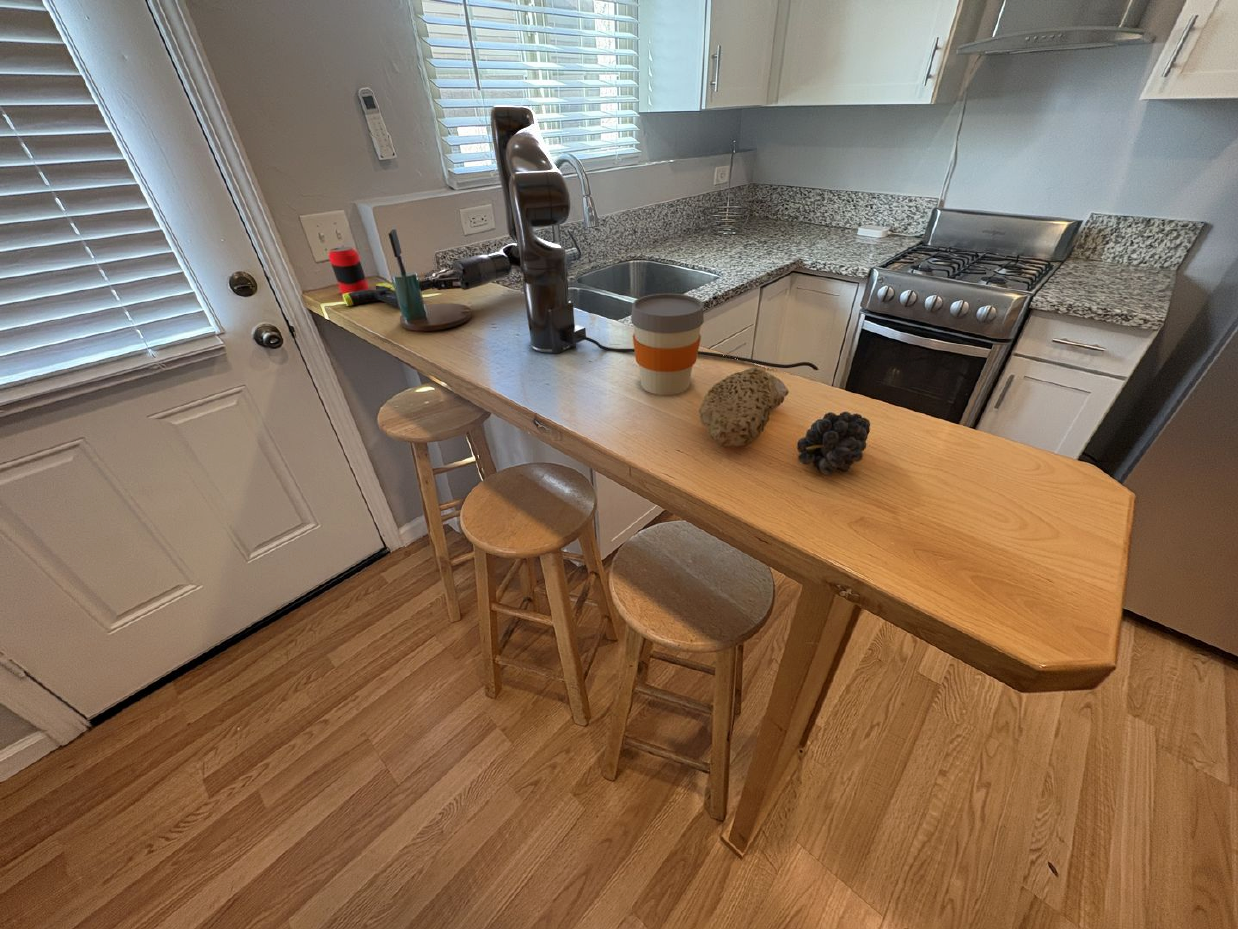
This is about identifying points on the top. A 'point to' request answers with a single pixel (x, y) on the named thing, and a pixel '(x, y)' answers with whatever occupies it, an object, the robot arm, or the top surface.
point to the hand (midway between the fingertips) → (415, 287)
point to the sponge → (741, 406)
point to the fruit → (834, 442)
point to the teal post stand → (421, 300)
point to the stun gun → (372, 295)
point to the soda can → (348, 269)
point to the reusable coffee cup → (666, 340)
